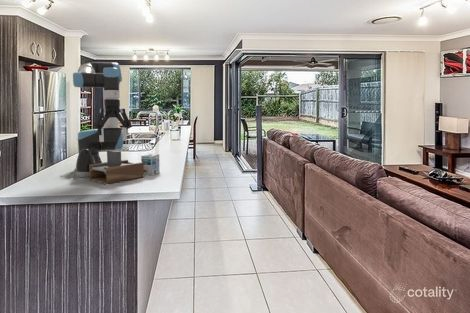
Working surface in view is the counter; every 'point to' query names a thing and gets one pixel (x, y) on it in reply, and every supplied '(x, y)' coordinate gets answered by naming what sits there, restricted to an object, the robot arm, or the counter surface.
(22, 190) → the counter surface
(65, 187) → the counter surface
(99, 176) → the walnut box
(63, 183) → the counter surface
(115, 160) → the cover plate
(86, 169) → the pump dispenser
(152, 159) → the light bulb box
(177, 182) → the counter surface
